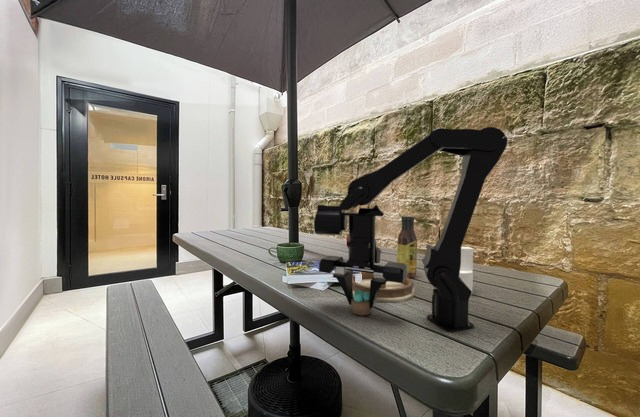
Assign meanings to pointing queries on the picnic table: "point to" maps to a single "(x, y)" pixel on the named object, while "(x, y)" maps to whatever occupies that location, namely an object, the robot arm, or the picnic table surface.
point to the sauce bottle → (407, 246)
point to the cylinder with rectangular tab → (467, 266)
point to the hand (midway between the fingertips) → (361, 306)
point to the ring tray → (388, 286)
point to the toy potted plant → (360, 303)
